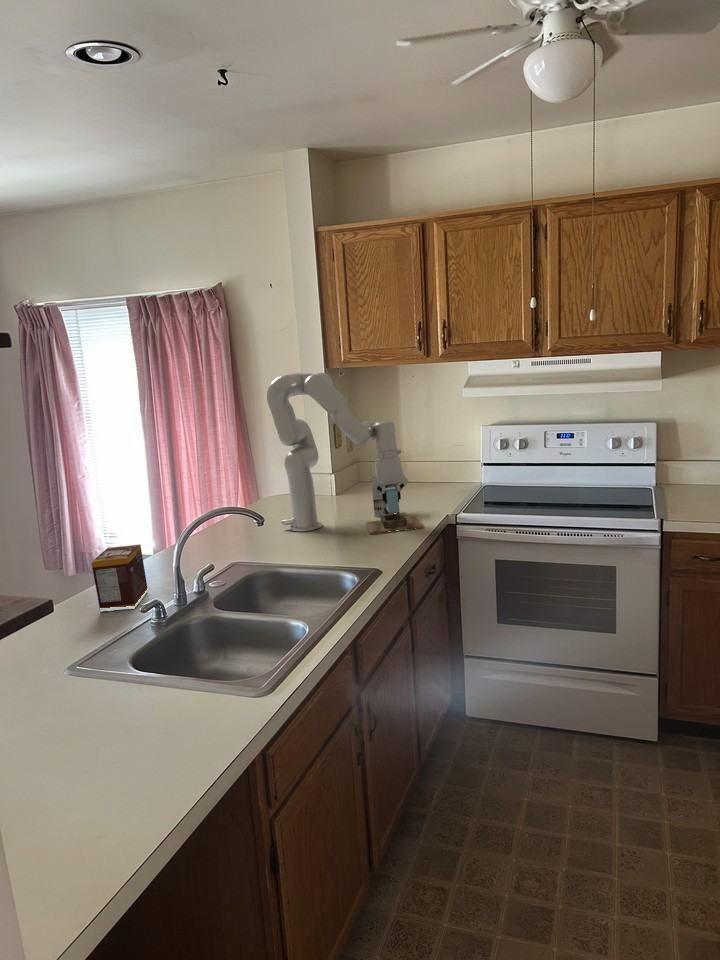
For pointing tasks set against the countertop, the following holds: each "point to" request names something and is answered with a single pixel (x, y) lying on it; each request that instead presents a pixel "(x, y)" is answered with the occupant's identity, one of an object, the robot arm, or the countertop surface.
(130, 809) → the countertop surface
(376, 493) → the coffee box
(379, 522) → the keyed holder
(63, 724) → the countertop surface
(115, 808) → the countertop surface
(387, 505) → the keyed block
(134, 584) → the supplement box
